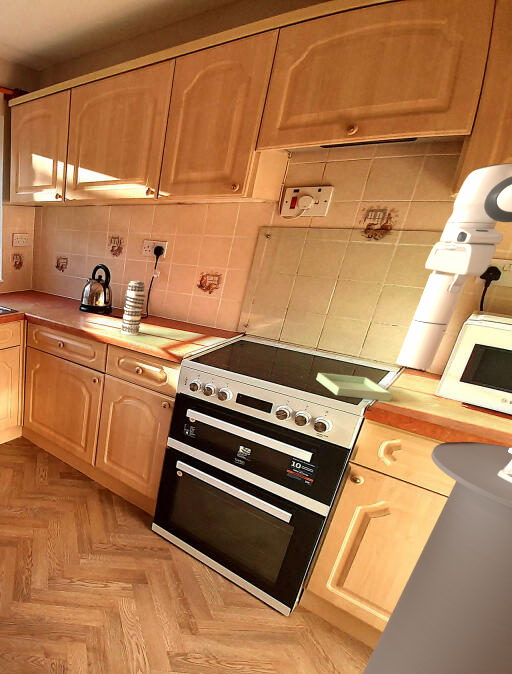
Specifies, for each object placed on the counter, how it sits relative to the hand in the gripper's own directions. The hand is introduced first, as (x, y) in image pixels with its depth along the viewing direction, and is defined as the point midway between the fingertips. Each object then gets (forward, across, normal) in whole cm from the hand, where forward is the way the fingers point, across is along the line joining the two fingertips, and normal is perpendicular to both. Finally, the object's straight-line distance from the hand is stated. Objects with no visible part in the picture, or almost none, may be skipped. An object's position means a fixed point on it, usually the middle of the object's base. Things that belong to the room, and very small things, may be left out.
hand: (443, 290), depth 113 cm
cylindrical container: (+21, 0, 0) cm, 21 cm away
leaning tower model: (+36, -62, -82) cm, 109 cm away
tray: (+35, -15, -6) cm, 39 cm away
